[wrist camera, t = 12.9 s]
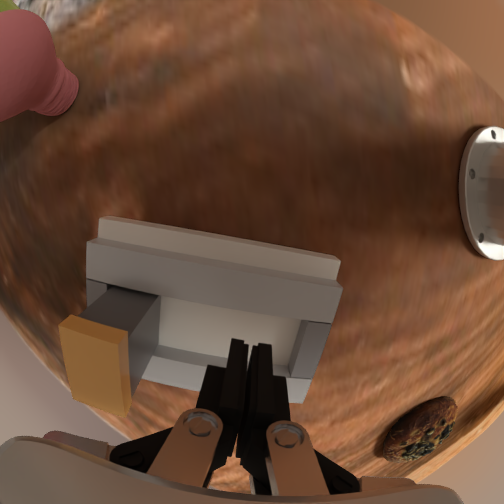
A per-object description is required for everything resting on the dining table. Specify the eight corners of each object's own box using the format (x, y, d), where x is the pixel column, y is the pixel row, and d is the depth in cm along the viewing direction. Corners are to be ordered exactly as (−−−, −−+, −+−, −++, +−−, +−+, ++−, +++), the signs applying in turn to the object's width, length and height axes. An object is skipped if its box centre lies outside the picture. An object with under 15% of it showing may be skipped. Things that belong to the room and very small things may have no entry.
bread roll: (419, 391, 23) (443, 421, 18) (461, 390, 25) (481, 412, 21) (360, 453, 25) (375, 482, 21) (411, 444, 28) (426, 467, 23)
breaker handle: (162, 286, 17) (118, 344, 10) (158, 347, 18) (125, 417, 11) (117, 276, 17) (58, 325, 10) (117, 337, 18) (73, 398, 11)
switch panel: (334, 255, 19) (348, 267, 16) (292, 390, 22) (297, 414, 19) (108, 215, 18) (87, 221, 15) (108, 356, 20) (94, 375, 18)
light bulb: (121, 62, 15) (28, -18, 4) (79, 148, 17) (-49, 133, 5) (62, 51, 14) (-26, 1, 3) (26, 126, 16) (-80, 113, 4)
